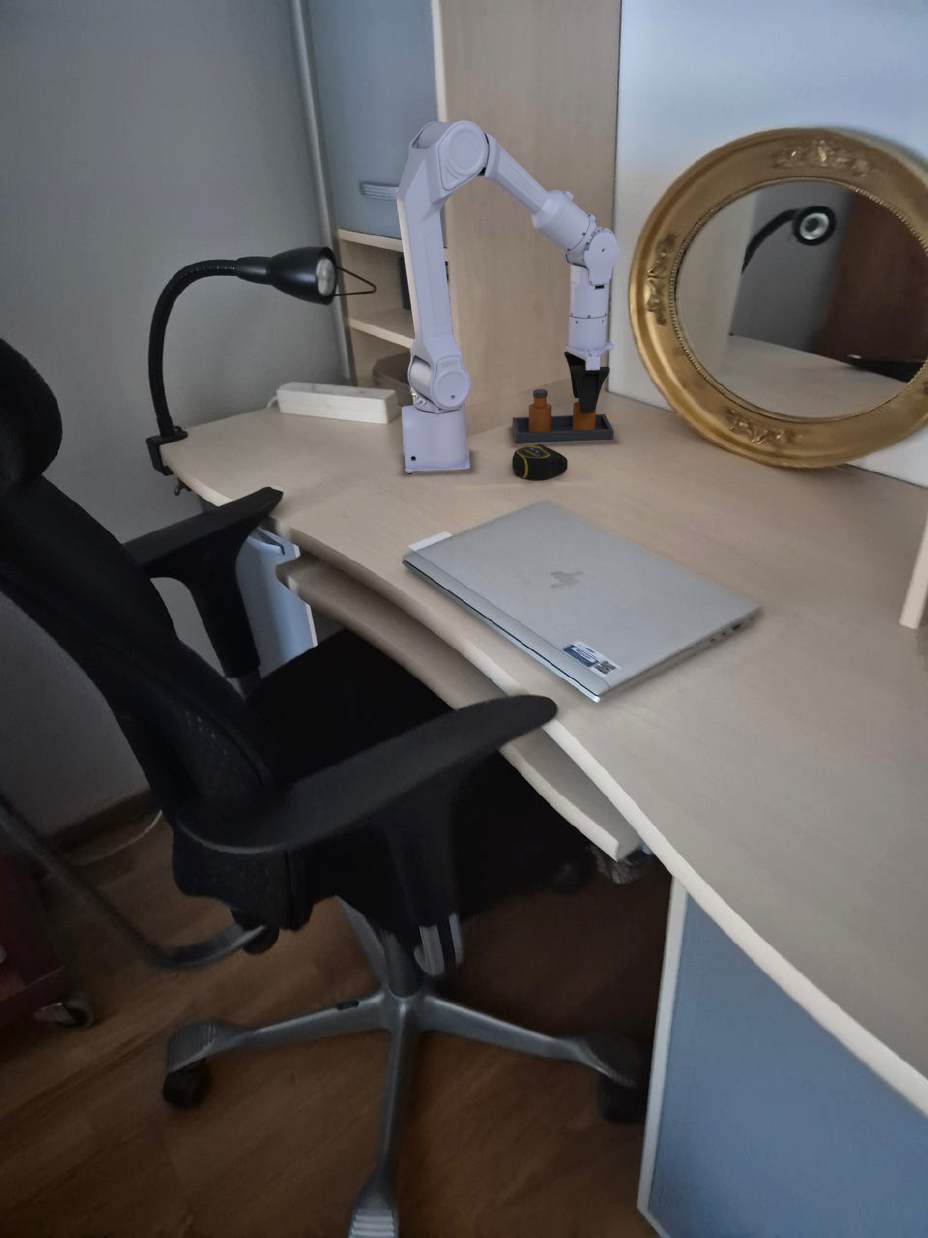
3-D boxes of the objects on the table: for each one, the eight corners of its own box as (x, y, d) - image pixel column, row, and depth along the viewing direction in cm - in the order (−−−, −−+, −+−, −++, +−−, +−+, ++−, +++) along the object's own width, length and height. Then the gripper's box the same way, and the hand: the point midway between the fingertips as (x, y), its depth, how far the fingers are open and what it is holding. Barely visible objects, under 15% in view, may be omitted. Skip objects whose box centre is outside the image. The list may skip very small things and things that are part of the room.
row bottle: (529, 437, 129) (529, 394, 125) (527, 430, 132) (527, 387, 128) (552, 436, 129) (553, 393, 125) (549, 429, 132) (550, 387, 128)
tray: (515, 446, 127) (515, 434, 126) (512, 429, 134) (512, 417, 133) (612, 442, 127) (613, 430, 126) (604, 425, 134) (605, 413, 133)
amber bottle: (573, 435, 129) (575, 392, 125) (571, 428, 132) (572, 386, 128) (596, 435, 129) (598, 391, 125) (593, 427, 132) (595, 385, 128)
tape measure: (569, 478, 115) (570, 453, 113) (528, 488, 112) (529, 463, 111) (543, 463, 120) (543, 439, 118) (503, 473, 118) (503, 448, 116)
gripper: (623, 324, 114) (617, 418, 122) (607, 303, 127) (602, 390, 134) (573, 325, 114) (570, 419, 122) (562, 305, 127) (559, 391, 134)
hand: (583, 404), depth 128 cm, fingers open, 7 cm apart
